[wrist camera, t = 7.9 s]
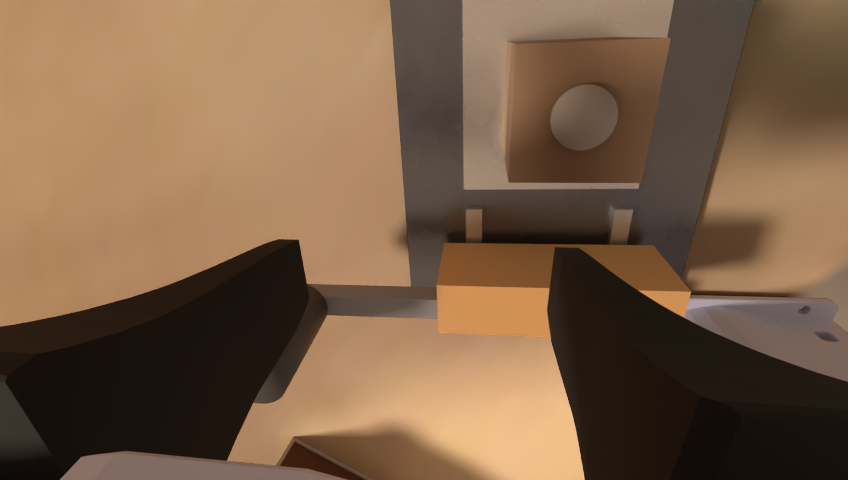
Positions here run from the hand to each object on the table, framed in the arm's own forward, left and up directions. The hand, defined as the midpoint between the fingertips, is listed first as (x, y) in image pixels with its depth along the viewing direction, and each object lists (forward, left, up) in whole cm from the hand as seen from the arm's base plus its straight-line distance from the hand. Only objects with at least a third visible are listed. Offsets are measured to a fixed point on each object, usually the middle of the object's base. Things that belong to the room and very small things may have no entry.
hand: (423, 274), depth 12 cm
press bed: (-5, -1, -10) cm, 11 cm away
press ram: (-1, +5, -9) cm, 10 cm away
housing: (-5, -3, -9) cm, 11 cm away
